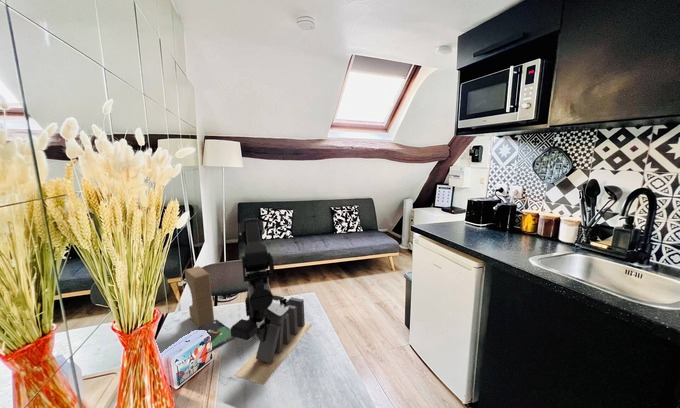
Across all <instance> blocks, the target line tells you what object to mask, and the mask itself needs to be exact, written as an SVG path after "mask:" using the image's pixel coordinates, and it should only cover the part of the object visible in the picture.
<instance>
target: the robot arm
mask: <svg viewBox="0 0 680 408" xmlns="http://www.w3.org/2000/svg"><path fill="white" fill-rule="evenodd" d="M264 226H265V225H264V220H261V219H259V218H256V217H254V218H245V219H244V220H243V221H242V222H241V221H240V222H239V223H238V231H239V232H238V233H239V236H241V240H242V241H243V243H244V244H245V247H244V248H243V254H244V255H242V256H241V263H242V275H243V282H244V283H246V282H247V292H246V297H245V301H244V302H245V313H246V317H248V319H243V318H241V319H239V320H238V321H237V322H236V323H234V324H233V325H232V326H231V327H230V328H229V329H230V330H231V336H232V337H236V338H235V339H240V340H244V341H249V340H251V339H252V338H253V337H254V336H256V337H257V339H258V340H259V342H260V341H261V342H264V341H265V340H266V336H267V332H268V328H269V325H270V322H271V321H272V322H274V324H277V325H278V324H280V323H281V322H282V321H283V320H284V319H285V318H286V316H287V312H288V311H289V310H290V302H289V299H290V298H288V297H286V296H285V297H284V296H280V295H275V294H273V292H272V289H271V286H270V284H269V281H270V280H269V279H270V278H274V272H275V266H274V265H275V264H274V259H273V256H272V254H271V253H270V252H268V248H267V245H266V244H264V243H263V242H262V239H263V234H264V232H265V227H264ZM268 269H269V270H268Z"/></svg>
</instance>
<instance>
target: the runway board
mask: <svg viewBox="0 0 680 408" xmlns="http://www.w3.org/2000/svg"><path fill="white" fill-rule="evenodd" d="M312 326H313V324H312V323H308V322H305V325H304V326H303V327H299V326H298V333H297V335H296V336H295V335H290V343H289V344H288V345H286V344H282V352H281V353H280V354H277V353H275V354H274V358H273V362H272V363H268V362H264V361H261V360H258V359H256V355H257V351H256V352H255V353H254V354H253V355H252V356H251V357H250V358H249V359H248V360H247V361H246V362H245V363H244V365H242V366H241V367H240V368H239V370H238V371H236V372H235V374H234V376H236V377H239V378H241V379H244V380H248V381H251V382H254V383H257V384H260V385H262V386H264V385H265V384H266V382H267V381H268V380H269V379H270V378H271V376H272V375H273V374H274V373H275V371H277V369H278V367H280V365H281V364H282V363H283V361H284V360H285V359H287V357H288V355H289V354H290V353H291V351H292V350H293V349H294V348H295V346H297V344H298V343H299V342H300V341H301V339H302V338H303V337H304V336H305V334H306V333H307V332H308V331H309V330H310V328H311V327H312Z"/></svg>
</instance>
